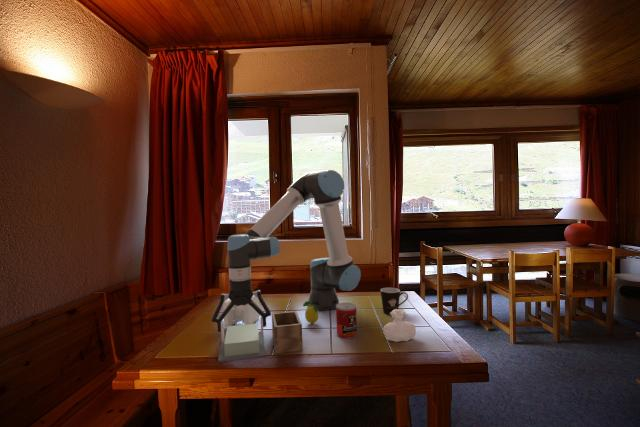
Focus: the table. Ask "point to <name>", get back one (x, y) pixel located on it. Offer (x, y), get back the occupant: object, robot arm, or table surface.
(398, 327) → the bust
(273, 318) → the box
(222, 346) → the mat
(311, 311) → the lemon
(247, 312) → the cable organizer
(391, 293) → the coffee mug
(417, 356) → the table surface
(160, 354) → the table surface
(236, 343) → the lid
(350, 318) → the canned food
